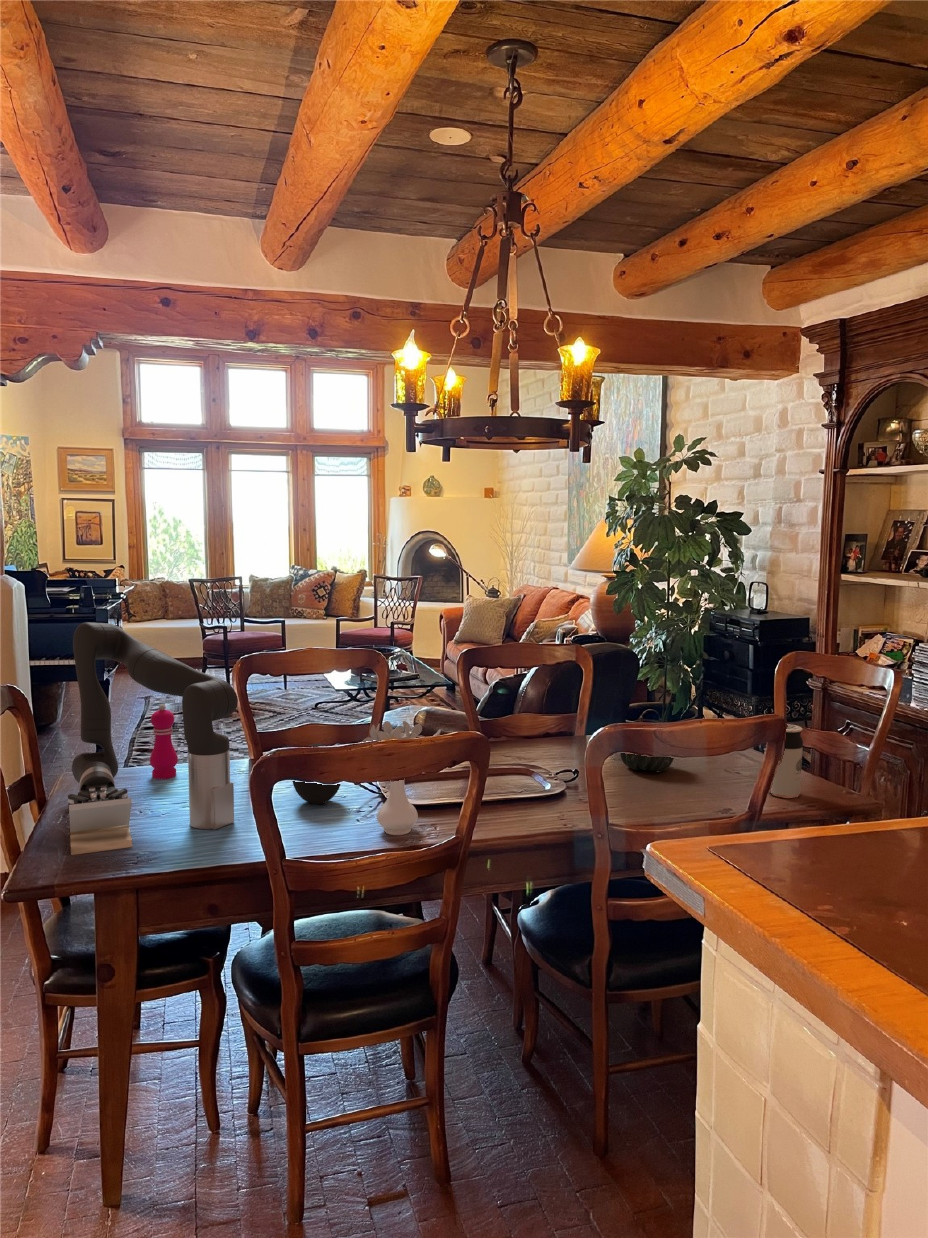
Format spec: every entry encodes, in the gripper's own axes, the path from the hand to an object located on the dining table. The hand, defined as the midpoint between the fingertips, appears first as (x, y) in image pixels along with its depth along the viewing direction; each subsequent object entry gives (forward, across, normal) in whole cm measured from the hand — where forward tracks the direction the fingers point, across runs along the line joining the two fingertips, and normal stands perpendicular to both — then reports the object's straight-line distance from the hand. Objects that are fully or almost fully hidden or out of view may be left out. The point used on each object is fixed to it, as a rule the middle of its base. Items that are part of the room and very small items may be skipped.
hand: (99, 809), depth 188 cm
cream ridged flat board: (-6, 0, +8) cm, 10 cm away
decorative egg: (-10, +50, +8) cm, 52 cm away
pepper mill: (-48, +18, +9) cm, 51 cm away
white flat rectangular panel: (-4, 0, +6) cm, 7 cm away
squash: (-3, +145, +7) cm, 145 cm away
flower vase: (+16, +63, +8) cm, 65 cm away
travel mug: (+30, +164, +7) cm, 167 cm away
